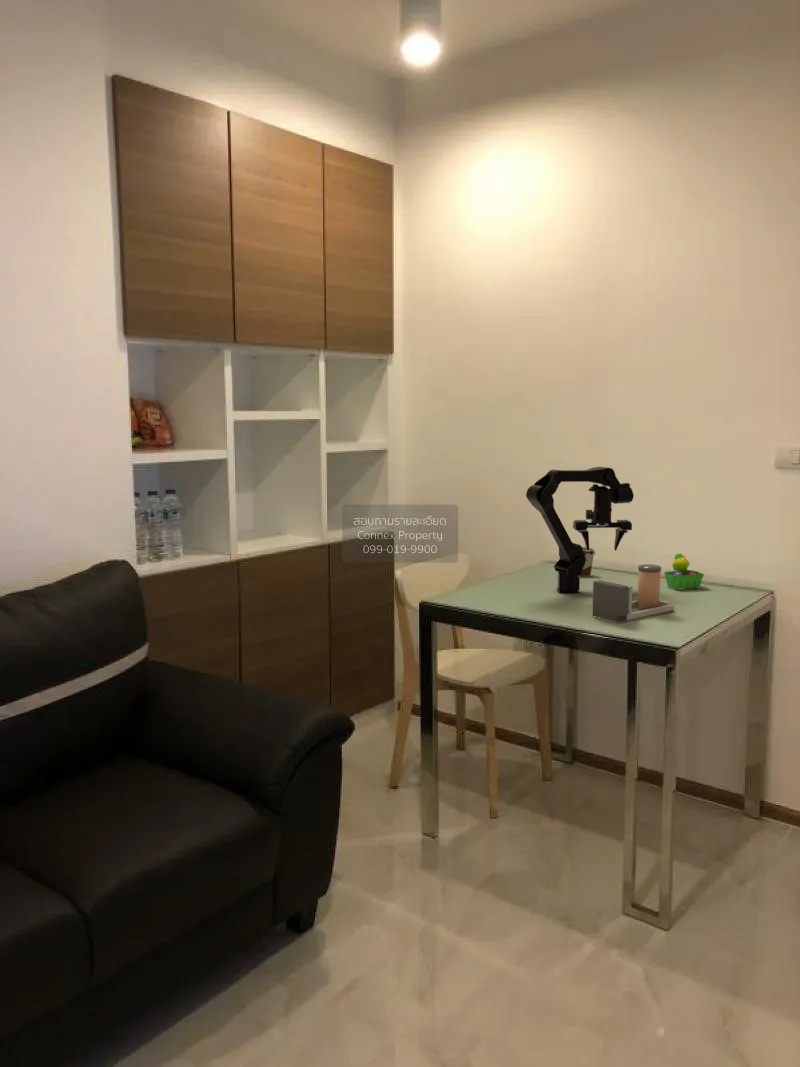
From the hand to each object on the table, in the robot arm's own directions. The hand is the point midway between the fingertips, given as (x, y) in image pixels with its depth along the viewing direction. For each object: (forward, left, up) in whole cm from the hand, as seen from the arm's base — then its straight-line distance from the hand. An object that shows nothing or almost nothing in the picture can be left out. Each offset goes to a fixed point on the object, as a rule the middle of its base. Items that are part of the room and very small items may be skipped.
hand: (601, 550), depth 294 cm
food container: (-4, +23, -13) cm, 27 cm away
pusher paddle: (-2, -40, -12) cm, 42 cm away
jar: (+8, -32, -12) cm, 35 cm away
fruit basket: (+28, +1, -13) cm, 31 cm away
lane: (+2, -36, -13) cm, 39 cm away
